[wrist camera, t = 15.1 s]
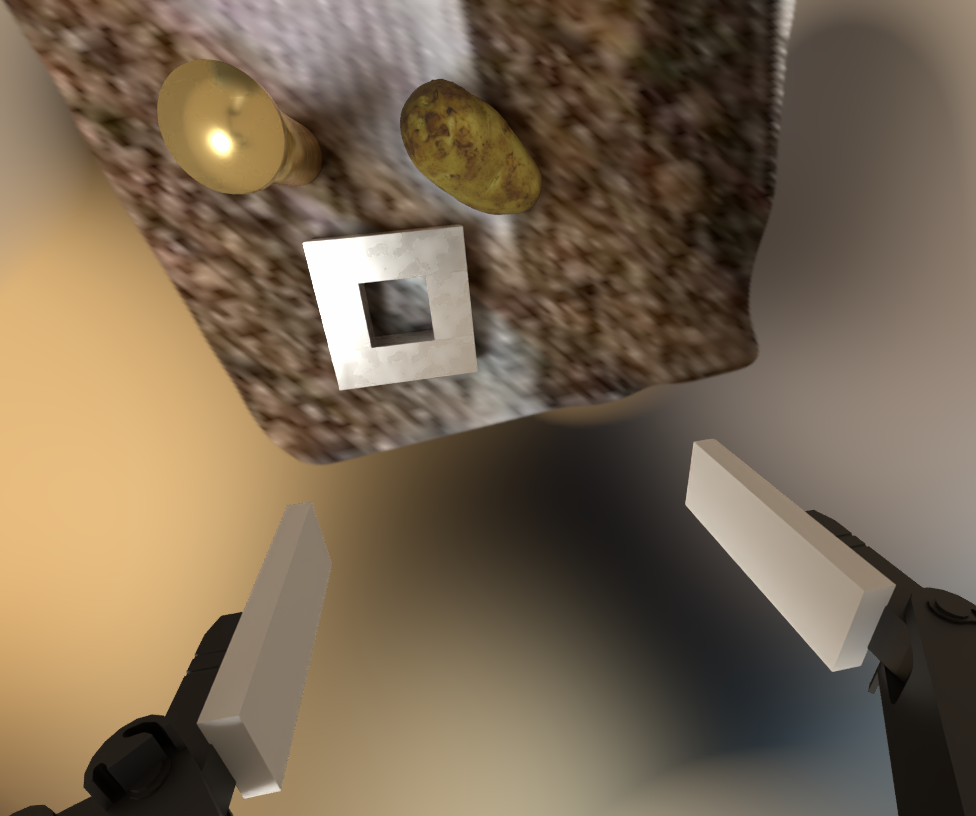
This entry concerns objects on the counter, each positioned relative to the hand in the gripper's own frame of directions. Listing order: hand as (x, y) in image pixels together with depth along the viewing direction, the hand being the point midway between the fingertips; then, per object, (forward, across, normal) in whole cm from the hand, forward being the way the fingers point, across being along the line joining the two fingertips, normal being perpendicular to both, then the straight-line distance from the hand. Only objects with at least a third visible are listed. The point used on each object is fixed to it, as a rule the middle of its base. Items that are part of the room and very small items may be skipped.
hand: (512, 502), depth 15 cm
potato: (+35, +4, +12) cm, 37 cm away
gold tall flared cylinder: (+35, -12, +14) cm, 39 cm away
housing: (+35, -5, 0) cm, 35 cm away
